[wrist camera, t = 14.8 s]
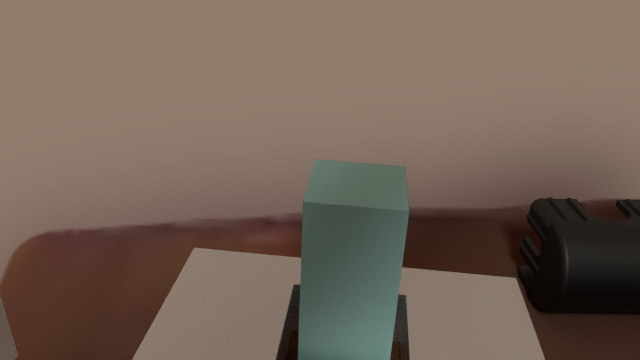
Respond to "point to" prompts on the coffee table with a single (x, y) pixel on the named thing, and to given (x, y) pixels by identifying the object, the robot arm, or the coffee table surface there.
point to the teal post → (351, 260)
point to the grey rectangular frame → (284, 301)
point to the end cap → (582, 258)
